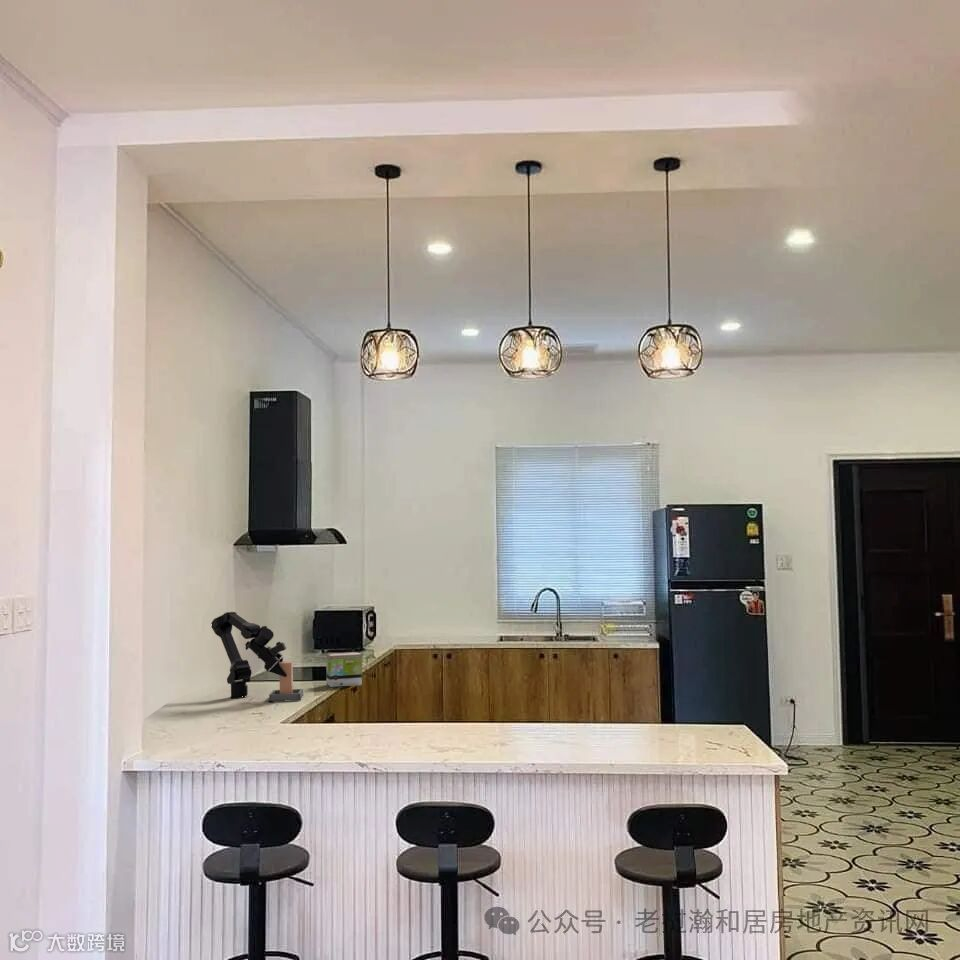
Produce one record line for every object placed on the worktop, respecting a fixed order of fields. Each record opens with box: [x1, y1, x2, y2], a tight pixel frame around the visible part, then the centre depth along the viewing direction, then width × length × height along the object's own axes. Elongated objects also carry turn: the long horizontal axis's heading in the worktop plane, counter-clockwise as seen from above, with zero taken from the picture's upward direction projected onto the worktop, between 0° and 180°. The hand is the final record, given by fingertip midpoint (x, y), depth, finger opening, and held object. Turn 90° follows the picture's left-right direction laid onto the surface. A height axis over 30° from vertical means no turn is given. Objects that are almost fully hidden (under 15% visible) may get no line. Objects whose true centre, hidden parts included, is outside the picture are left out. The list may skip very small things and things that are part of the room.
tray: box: [268, 688, 304, 702], centre depth 380 cm, size 13×13×3 cm
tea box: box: [325, 651, 363, 688], centre depth 416 cm, size 15×10×15 cm
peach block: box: [279, 660, 294, 694], centre depth 381 cm, size 5×6×15 cm
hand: (287, 674), depth 381 cm, fingers open, 9 cm apart
